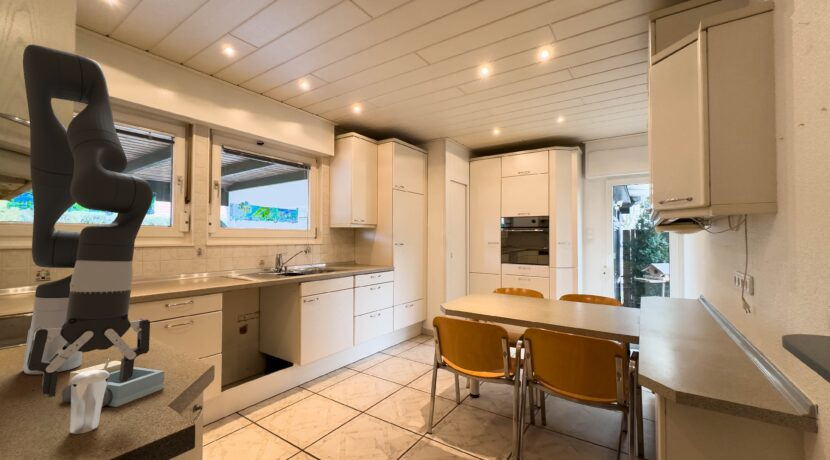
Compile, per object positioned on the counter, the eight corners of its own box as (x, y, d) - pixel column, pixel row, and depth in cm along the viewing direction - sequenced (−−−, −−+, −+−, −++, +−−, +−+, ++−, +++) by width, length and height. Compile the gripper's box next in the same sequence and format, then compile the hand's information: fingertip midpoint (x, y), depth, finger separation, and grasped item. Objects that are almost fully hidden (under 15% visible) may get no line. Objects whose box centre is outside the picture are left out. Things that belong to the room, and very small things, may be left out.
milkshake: (115, 420, 57) (122, 360, 58) (85, 436, 51) (93, 370, 52) (88, 419, 56) (95, 359, 57) (55, 436, 51) (64, 369, 52)
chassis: (56, 400, 63) (59, 375, 63) (120, 380, 74) (122, 358, 75) (109, 409, 60) (112, 382, 61) (167, 386, 71) (170, 364, 72)
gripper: (41, 291, 48) (24, 409, 46) (160, 287, 59) (150, 382, 57) (36, 288, 52) (20, 394, 51) (147, 285, 64) (137, 372, 62)
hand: (89, 388), depth 54 cm, fingers open, 8 cm apart
